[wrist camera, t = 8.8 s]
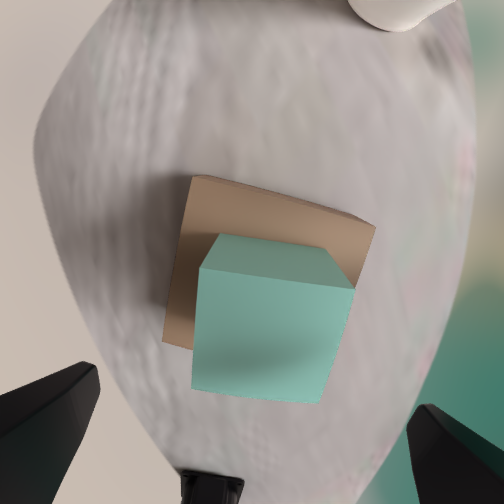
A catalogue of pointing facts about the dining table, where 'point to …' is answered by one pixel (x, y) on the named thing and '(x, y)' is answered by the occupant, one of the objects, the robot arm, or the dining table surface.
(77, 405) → the robot arm
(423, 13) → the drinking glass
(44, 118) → the dining table surface
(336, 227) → the walnut block
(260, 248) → the teal cube
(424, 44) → the dining table surface
